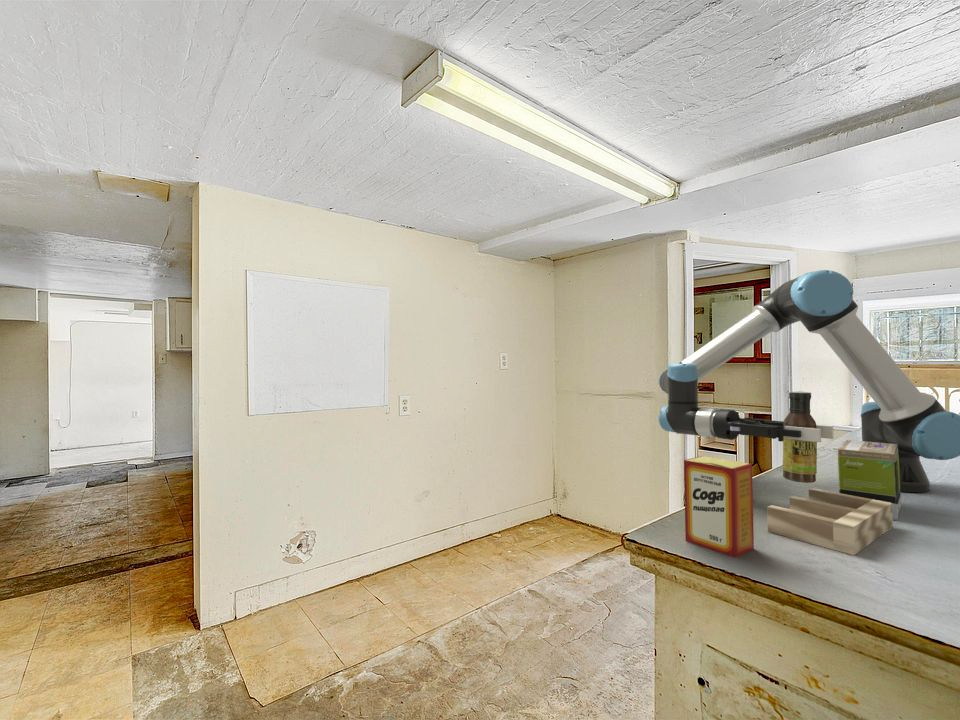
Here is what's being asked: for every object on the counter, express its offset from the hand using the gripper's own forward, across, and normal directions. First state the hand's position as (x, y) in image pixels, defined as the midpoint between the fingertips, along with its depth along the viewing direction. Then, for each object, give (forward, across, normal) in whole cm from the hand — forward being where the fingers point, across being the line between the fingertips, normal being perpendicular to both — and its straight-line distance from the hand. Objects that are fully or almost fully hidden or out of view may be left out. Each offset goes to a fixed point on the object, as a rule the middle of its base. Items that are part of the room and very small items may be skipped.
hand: (826, 434), depth 96 cm
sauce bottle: (-5, 0, -11) cm, 12 cm away
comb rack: (+2, +5, -19) cm, 19 cm away
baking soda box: (-7, +30, -19) cm, 37 cm away
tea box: (+2, -19, -19) cm, 27 cm away
